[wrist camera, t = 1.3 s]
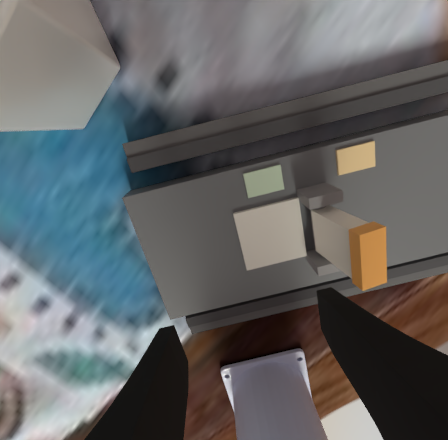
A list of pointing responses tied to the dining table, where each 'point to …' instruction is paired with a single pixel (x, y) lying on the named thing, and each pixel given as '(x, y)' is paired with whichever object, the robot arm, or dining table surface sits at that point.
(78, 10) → the jar
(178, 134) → the long dark grey rail
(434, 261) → the thin grey bar
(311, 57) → the dining table surface
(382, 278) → the breaker lever
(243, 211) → the toggle switch panel
